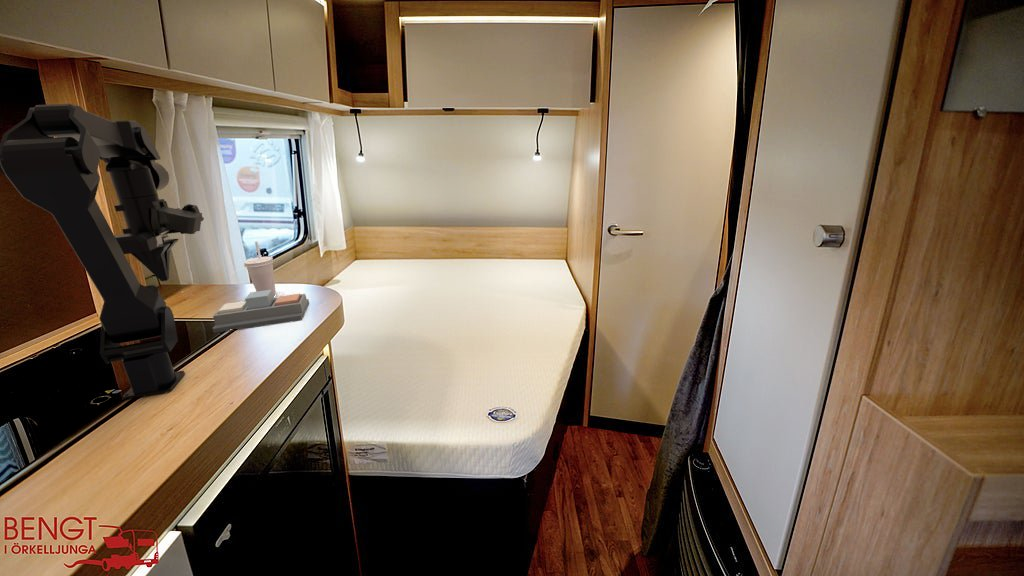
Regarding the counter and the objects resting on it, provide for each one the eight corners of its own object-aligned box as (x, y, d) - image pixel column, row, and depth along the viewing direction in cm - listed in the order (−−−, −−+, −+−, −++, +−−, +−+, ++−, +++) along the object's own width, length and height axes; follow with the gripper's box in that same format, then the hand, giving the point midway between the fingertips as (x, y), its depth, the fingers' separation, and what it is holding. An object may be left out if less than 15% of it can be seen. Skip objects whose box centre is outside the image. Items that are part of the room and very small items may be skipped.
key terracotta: (299, 310, 102) (296, 299, 101) (277, 313, 101) (275, 302, 100) (302, 303, 106) (300, 293, 105) (281, 306, 105) (279, 296, 104)
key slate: (270, 306, 100) (267, 295, 100) (247, 309, 99) (244, 298, 99) (274, 300, 104) (271, 289, 104) (253, 303, 103) (250, 292, 103)
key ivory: (244, 318, 100) (241, 307, 99) (221, 321, 99) (218, 310, 98) (249, 311, 104) (246, 300, 103) (227, 314, 103) (224, 303, 102)
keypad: (301, 319, 100) (298, 306, 99) (213, 333, 96) (209, 319, 95) (309, 303, 110) (306, 291, 109) (229, 314, 106) (226, 302, 105)
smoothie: (287, 294, 117) (274, 240, 112) (262, 303, 112) (248, 246, 107) (272, 291, 120) (259, 238, 116) (248, 299, 115) (233, 244, 111)
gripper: (167, 198, 76) (194, 289, 81) (206, 186, 93) (227, 262, 98) (86, 205, 73) (120, 298, 78) (142, 192, 90) (167, 269, 95)
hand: (165, 280), depth 88 cm, fingers closed
